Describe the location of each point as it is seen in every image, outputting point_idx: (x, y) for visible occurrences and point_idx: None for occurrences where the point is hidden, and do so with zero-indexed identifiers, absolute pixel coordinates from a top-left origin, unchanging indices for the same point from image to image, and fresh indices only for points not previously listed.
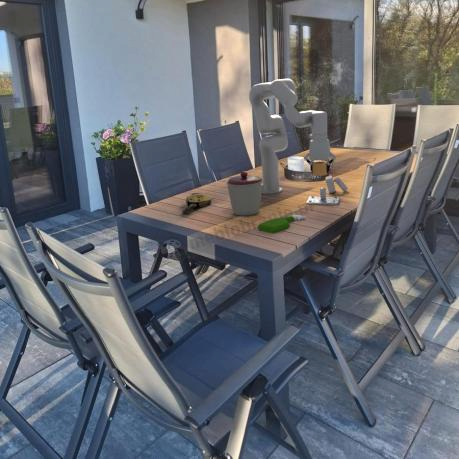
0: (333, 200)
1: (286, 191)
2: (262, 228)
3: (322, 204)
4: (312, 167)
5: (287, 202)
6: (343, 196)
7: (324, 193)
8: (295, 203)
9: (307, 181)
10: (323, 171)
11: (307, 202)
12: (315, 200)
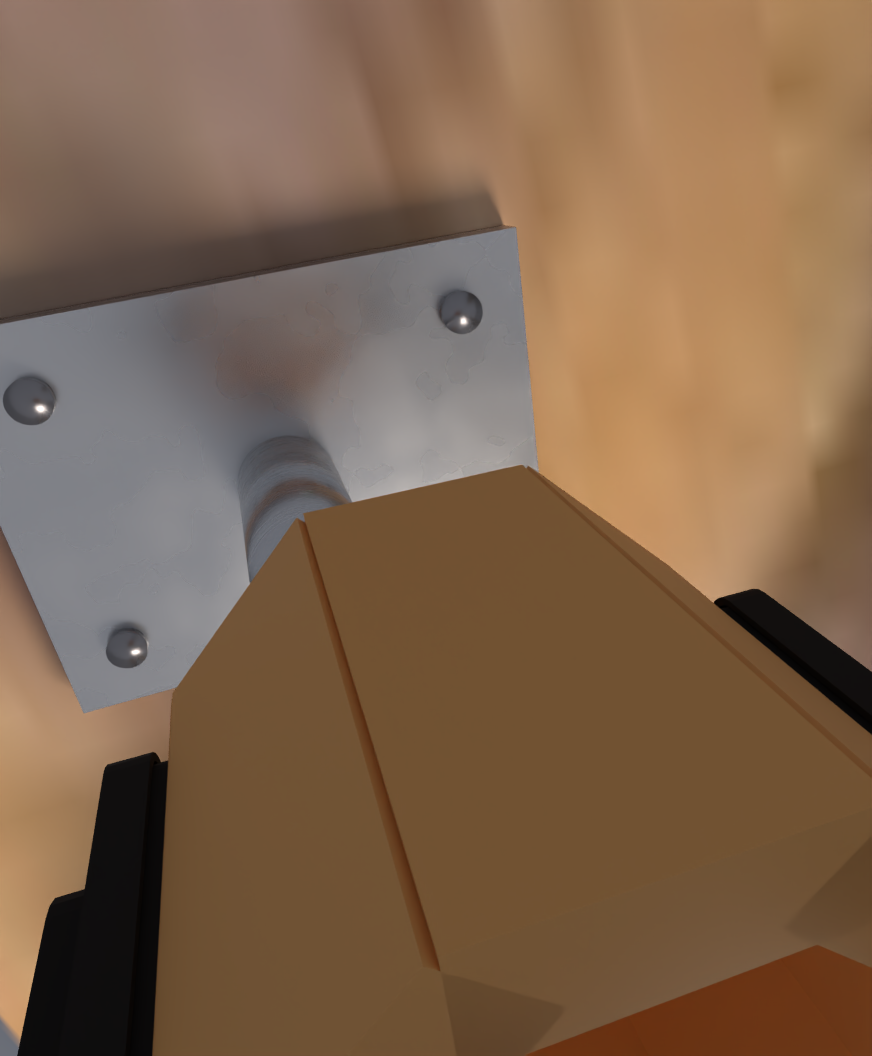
0: (82, 473)
1: None
2: None
3: (221, 278)
4: (870, 732)
5: (794, 274)
6: (87, 799)
7: (257, 495)
8: (675, 245)
9: None
10: (265, 673)
11: (490, 234)
12: (394, 392)
